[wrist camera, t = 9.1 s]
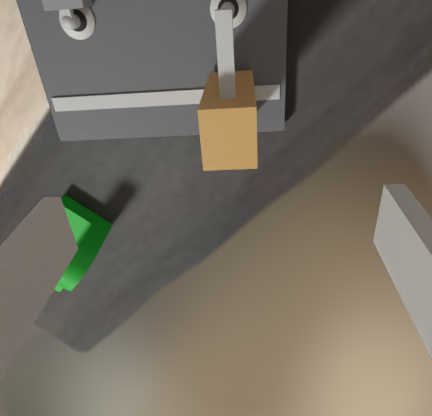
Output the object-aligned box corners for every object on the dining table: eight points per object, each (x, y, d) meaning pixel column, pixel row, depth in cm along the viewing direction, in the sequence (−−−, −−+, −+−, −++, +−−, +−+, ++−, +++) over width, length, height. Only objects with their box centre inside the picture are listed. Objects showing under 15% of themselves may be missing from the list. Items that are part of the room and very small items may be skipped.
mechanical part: (65, 193, 40) (30, 237, 33) (113, 223, 42) (88, 270, 35) (22, 256, 46) (-16, 305, 39) (66, 281, 47) (36, 331, 41)
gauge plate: (20, -20, 29) (-5, -19, 26) (286, -43, 27) (292, -46, 25) (66, 135, 36) (51, 149, 33) (282, 125, 34) (286, 139, 31)
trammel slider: (204, 3, 28) (187, 15, 19) (251, -1, 27) (255, 10, 19) (213, 119, 32) (203, 170, 24) (253, 117, 32) (257, 168, 24)
